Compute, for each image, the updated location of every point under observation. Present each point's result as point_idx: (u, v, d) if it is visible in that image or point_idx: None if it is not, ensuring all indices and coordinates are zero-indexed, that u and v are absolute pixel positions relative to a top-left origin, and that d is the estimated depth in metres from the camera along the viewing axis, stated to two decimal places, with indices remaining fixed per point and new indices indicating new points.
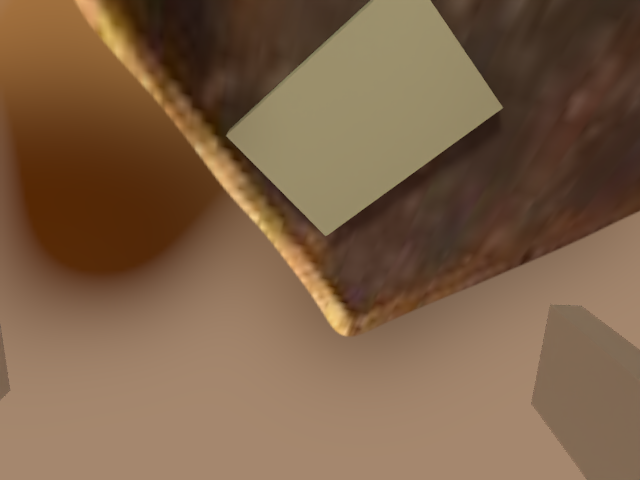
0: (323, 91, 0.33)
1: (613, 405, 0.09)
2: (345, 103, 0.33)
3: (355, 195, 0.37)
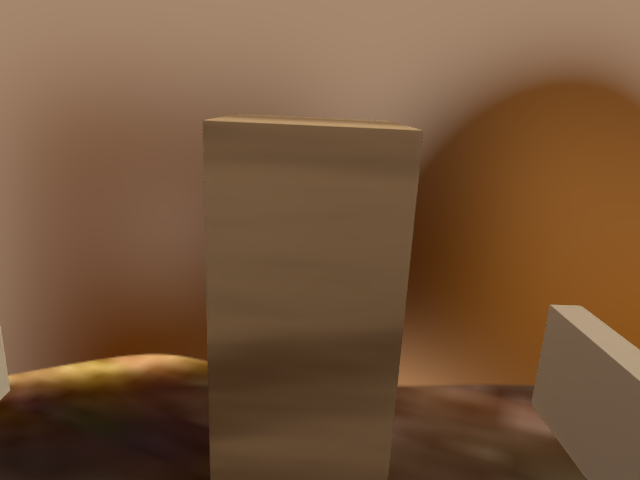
0: None
1: (614, 406, 0.09)
2: None
3: None
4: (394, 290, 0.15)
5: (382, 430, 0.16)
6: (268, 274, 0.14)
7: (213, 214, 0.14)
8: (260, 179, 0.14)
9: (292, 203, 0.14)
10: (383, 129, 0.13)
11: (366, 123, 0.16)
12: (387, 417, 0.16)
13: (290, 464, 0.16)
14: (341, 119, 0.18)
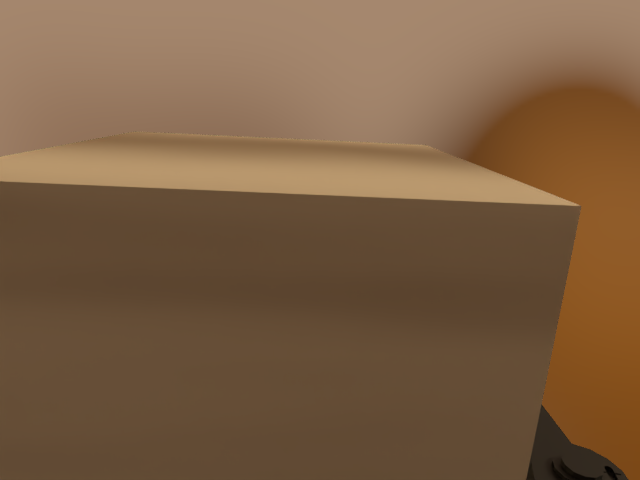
0: None
1: None
2: None
3: None
4: None
5: None
6: None
7: None
8: (95, 343, 0.05)
9: (193, 403, 0.05)
10: (460, 202, 0.04)
11: (390, 161, 0.07)
12: None
13: None
14: (334, 143, 0.09)
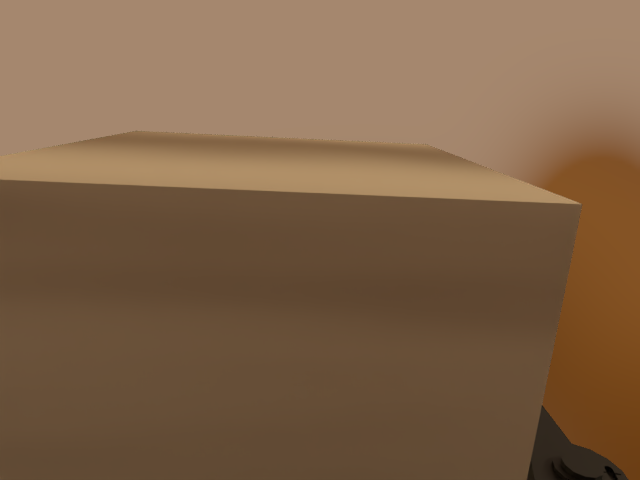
0: None
1: None
2: None
3: None
4: None
5: None
6: None
7: None
8: (98, 342, 0.05)
9: (197, 401, 0.05)
10: (462, 201, 0.04)
11: (391, 160, 0.07)
12: None
13: None
14: (335, 142, 0.09)
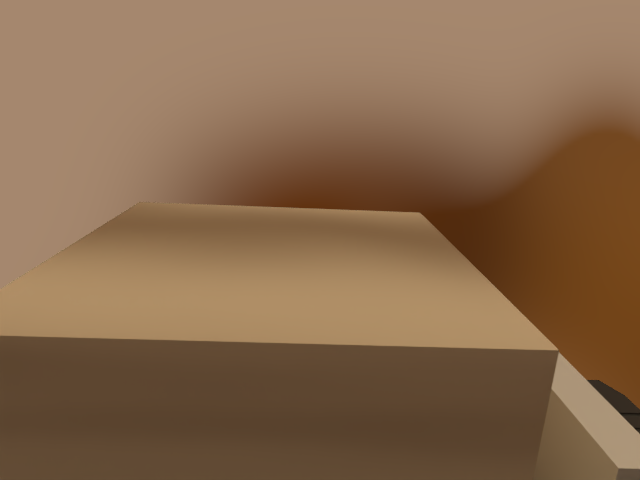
0: None
1: None
2: None
3: None
4: None
5: None
6: None
7: None
8: (113, 473, 0.05)
9: None
10: (449, 349, 0.05)
11: (385, 257, 0.07)
12: None
13: None
14: (332, 216, 0.10)
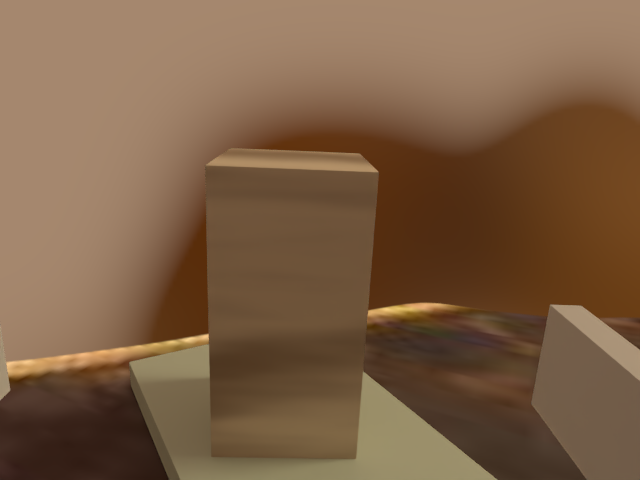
0: None
1: (614, 406, 0.09)
2: None
3: (173, 394, 0.24)
4: (358, 297, 0.18)
5: (351, 410, 0.20)
6: (258, 285, 0.18)
7: (213, 238, 0.17)
8: (251, 210, 0.17)
9: (277, 228, 0.17)
10: (347, 171, 0.17)
11: (337, 160, 0.20)
12: (355, 399, 0.19)
13: (277, 439, 0.20)
14: (318, 153, 0.22)
